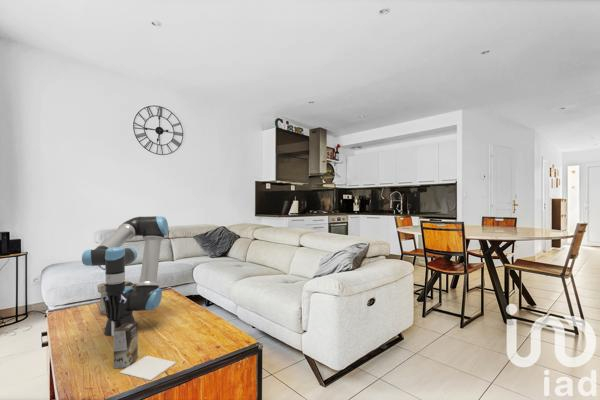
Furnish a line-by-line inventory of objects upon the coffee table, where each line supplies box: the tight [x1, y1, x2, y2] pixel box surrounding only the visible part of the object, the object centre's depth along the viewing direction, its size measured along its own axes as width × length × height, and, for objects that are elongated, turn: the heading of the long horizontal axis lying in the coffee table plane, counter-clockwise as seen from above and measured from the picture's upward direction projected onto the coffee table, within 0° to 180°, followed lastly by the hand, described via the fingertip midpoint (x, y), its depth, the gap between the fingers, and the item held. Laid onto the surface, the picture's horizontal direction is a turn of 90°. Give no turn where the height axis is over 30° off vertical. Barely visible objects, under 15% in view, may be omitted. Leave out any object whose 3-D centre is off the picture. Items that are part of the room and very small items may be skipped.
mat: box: [119, 355, 177, 382], centre depth 129 cm, size 17×14×1 cm
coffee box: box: [113, 321, 139, 369], centre depth 133 cm, size 9×6×16 cm
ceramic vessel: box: [96, 280, 139, 316], centre depth 198 cm, size 23×24×25 cm
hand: (115, 334), depth 135 cm, fingers closed
